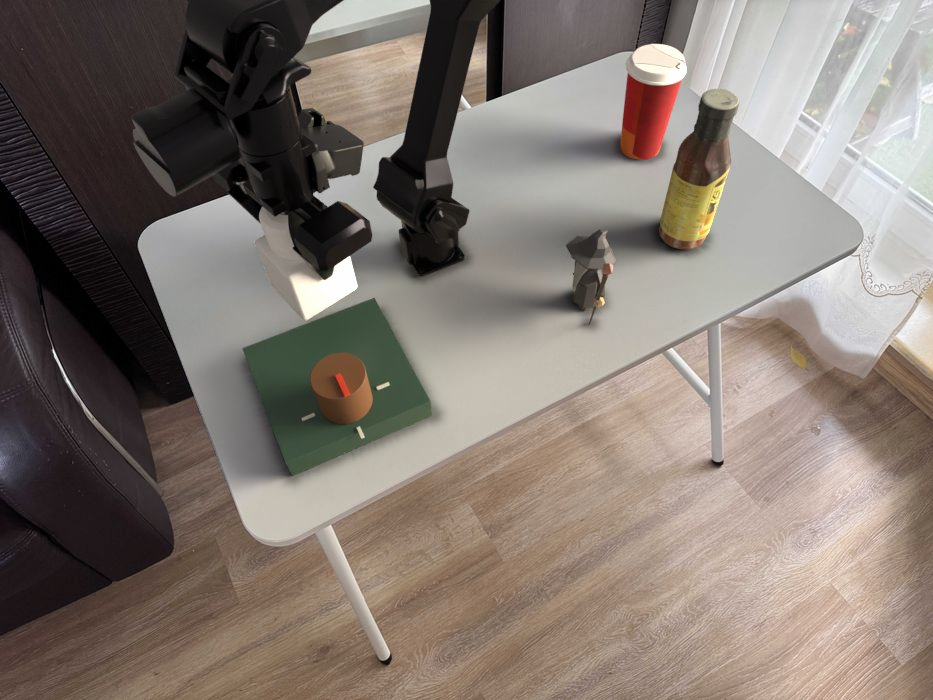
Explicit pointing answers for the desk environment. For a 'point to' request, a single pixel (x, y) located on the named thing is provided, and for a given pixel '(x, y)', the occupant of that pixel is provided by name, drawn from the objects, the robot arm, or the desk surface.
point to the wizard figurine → (590, 269)
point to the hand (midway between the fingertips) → (305, 258)
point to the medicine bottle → (299, 268)
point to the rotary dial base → (294, 403)
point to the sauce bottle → (699, 173)
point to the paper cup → (650, 98)
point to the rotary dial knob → (341, 388)
